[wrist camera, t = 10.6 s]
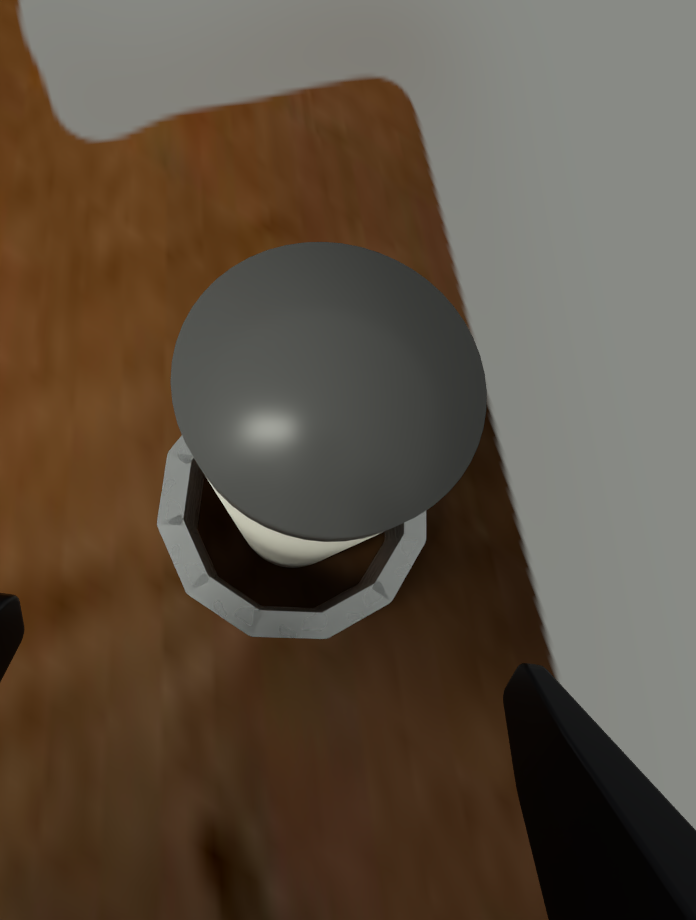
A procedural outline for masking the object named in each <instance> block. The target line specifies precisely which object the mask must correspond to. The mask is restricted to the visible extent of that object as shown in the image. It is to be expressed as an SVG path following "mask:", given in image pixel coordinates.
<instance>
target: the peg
mask: <svg viewBox="0 0 696 920" xmlns="http://www.w3.org/2000/svg"><path fill="white" fill-rule="evenodd" d="M171 391H172V402H173V407H174V411H175V415H176V419H177V423H178V426H179V428H180V431H181V433H182V436H183V438H184V441H185V443H186V445H187V447H188V448H189V450H190V452H191V454H192V455H193V457H194V459H195V461H196V462H197V464H198V465H199V467H200V469H201V470H202V472H203V473H204V475H205V477H206V478H207V480H208V481H209V483H210V484H211V486H212V488H213V489H214V491H215V492H216V494H217V495H218V497H219V499H220V500H221V502H222V503H223V505H224V506H225V508H226V510H227V511H228V513H229V514H230V516H231V518H232V519H233V521H234V522H235V524H236V525H237V527H238V529H239V530H240V532H241V533H242V535H243V536H244V538H245V540H246V541H247V543H248V544H249V546H250V547H251V548H252V549H253V551H254V552H255V553H257V554H258V555H259V556H260V557H261V558H263V559H264V560H266V561H268V562H270V563H272V564H275V565H277V566H281V567H288V568H300V567H305V566H309V565H312V564H315V563H317V562H319V561H321V560H323V559H326V558H328V557H330V556H332V555H334V554H337V553H339V552H341V551H343V550H345V549H347V548H350V547H352V546H354V545H356V544H358V543H361V542H363V541H365V540H367V539H369V538H372V537H374V536H376V535H378V534H380V533H383V532H385V531H387V530H389V529H391V528H393V527H396V526H398V525H400V524H402V523H404V522H407V521H409V520H411V519H413V518H415V517H417V516H418V515H420V514H421V513H423V512H424V511H426V510H428V509H429V508H431V507H432V506H433V505H435V504H436V503H437V502H438V501H439V500H440V499H441V498H443V497H444V496H445V495H446V494H447V493H448V492H449V491H450V490H451V489H452V487H453V486H454V485H455V484H456V483H457V482H458V480H459V479H460V478H461V476H462V475H463V473H464V472H465V470H466V469H467V467H468V466H469V464H470V462H471V460H472V458H473V456H474V454H475V452H476V449H477V447H478V445H479V441H480V438H481V435H482V431H483V428H484V421H485V415H486V392H487V391H486V383H485V374H484V370H483V366H482V362H481V358H480V354H479V352H478V349H477V347H476V344H475V342H474V339H473V337H472V335H471V333H470V331H469V329H468V328H467V326H466V324H465V322H464V321H463V319H462V318H461V316H460V315H459V313H458V312H457V311H456V309H455V308H454V306H453V305H452V304H451V303H450V302H449V301H448V300H447V298H446V297H445V296H444V295H443V294H442V293H441V292H440V291H439V290H438V289H437V288H436V287H434V286H433V285H432V284H431V283H430V282H429V281H428V280H426V279H425V278H424V277H422V276H421V275H419V274H418V273H417V272H415V271H414V270H413V269H411V268H409V267H407V266H405V265H404V264H402V263H400V262H398V261H397V260H395V259H392V258H390V257H388V256H385V255H383V254H381V253H378V252H375V251H372V250H368V249H365V248H362V247H357V246H352V245H347V244H342V243H329V242H309V243H298V244H292V245H285V246H281V247H278V248H274V249H270V250H267V251H264V252H262V253H259V254H257V255H255V256H252V257H250V258H248V259H246V260H244V261H242V262H241V263H239V264H237V265H235V266H234V267H232V268H231V269H229V270H228V271H227V272H225V273H224V274H223V275H221V276H220V277H219V278H217V279H216V280H215V281H214V282H213V283H212V284H211V285H210V286H209V287H208V288H207V289H206V290H205V291H204V293H203V294H202V295H201V296H200V298H199V299H198V300H197V302H196V303H195V304H194V306H193V307H192V309H191V311H190V312H189V314H188V316H187V318H186V320H185V321H184V323H183V325H182V328H181V331H180V333H179V336H178V339H177V341H176V345H175V350H174V355H173V359H172V370H171Z"/></svg>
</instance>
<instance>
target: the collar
mask: <svg viewBox="0 0 696 920" xmlns="http://www.w3.org/2000/svg"><path fill="white" fill-rule="evenodd" d="M204 479H205V475H204V473H203V472H202V470H201V469H200V467H199V465H198V464H197V462H196V461H195V459H194V457H193V455H192V454H191V452H190V450H189V448H188V447H187V445H186V443H185V441H184V438H183V436H181V437H180V438H179V440H178V441H177V442H176V443H175V444H174V446H173V447H172V448H171V449H170V450H169V452H168V455H167V461H166V467H165V474H164V480H163V487H162V493H161V500H160V506H159V513H158V519H157V524H158V525H157V526H158V529H159V531H160V533H161V535H162V538H163V540H164V542H165V545H166V547H167V549H168V552H169V554H170V556H171V559H172V561H173V563H174V566H175V568H176V570H177V573H178V575H179V577H180V579H181V582H182V584H183V586H184V589H185V591H186V593H187V594H188V595H189V596H191V597H192V598H194V599H195V600H197V601H198V602H200V603H201V604H203V605H204V606H206V607H207V608H209V609H210V610H212V611H213V612H215V613H216V614H218V615H219V616H221V617H222V618H224V619H225V620H227V621H228V622H230V623H231V624H233V625H234V626H235V627H237V628H238V629H240V630H241V631H243V632H244V633H246V634H247V635H249V636H250V635H251V637H281V638H313V639H326V638H327V639H328V638H330V637H331V636H333V635H335V634H337V633H338V632H340V631H342V630H344V629H345V628H347V627H349V626H351V625H352V624H354V623H356V622H358V621H359V620H361V619H363V618H365V617H366V616H368V615H370V614H372V613H373V612H375V611H377V610H379V609H380V608H382V607H384V606H386V605H387V604H389V603H391V602H392V600H393V598H394V597H395V595H396V593H397V591H398V590H399V588H400V586H401V584H402V583H403V581H404V579H405V577H406V576H407V574H408V572H409V570H410V569H411V567H412V565H413V563H414V562H415V560H416V558H417V556H418V555H419V553H420V551H421V549H422V548H423V546H424V544H425V542H426V511H424V512H423V513H421V514H420V515H418V516H417V517H415V518H413V519H411V520H409V521H407V522H404V523H402V524H400V525H398V526H396V527H393V528H391V529H389V530H387V531H385V541H384V543H383V544H382V546H381V548H380V549H379V551H378V553H377V554H376V556H375V558H374V559H373V561H372V563H371V564H370V566H369V568H368V569H367V571H366V573H365V574H364V576H363V578H362V579H361V581H360V583H359V584H357V585H355V586H353V587H352V588H350V589H348V590H346V591H344V592H342V593H341V594H339V595H337V596H335V597H333V598H331V599H330V600H328V601H326V602H324V603H322V604H320V605H319V606H317V607H315V608H302V607H276V606H261V605H260V604H258V603H257V602H255V601H254V600H252V599H251V598H249V597H248V596H246V595H245V594H243V593H242V592H240V591H239V590H237V589H236V588H234V587H233V586H231V585H230V584H229V583H227V582H226V581H224V580H223V579H221V578H220V577H218V575H217V572H216V570H215V568H214V566H213V563H212V561H211V559H210V557H209V555H208V552H207V550H206V548H205V546H204V543H203V541H202V539H201V537H200V534H199V532H198V530H197V528H198V521H199V513H200V506H201V498H202V490H203V483H204Z"/></svg>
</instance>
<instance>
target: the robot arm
mask: <svg viewBox="0 0 696 920" xmlns="http://www.w3.org/2000/svg"><path fill="white" fill-rule="evenodd" d="M23 635H24V623H23V617H22V612H21V606H20V601H19V598H18V597H17V596H16V595H12V594H5V593H0V681H1V680H2V678H3V676H4V674H5V672H6V670H7V668H8V666H9V664H10V662H11V660H12V658H13V657H14V655H15V653H16V651H17V649H18V647H19V645H20V643H21V641H22V638H23ZM503 703H504V710H505V716H506V723H507V730H508V736H509V743H510V750H511V756H512V763H513V770H514V776H515V782H516V787H517V792H518V797H519V801H520V805H521V809H522V813H523V818H524V822H525V826H526V830H527V834H528V838H529V842H530V846H531V850H532V854H533V858H534V862H535V866H536V870H537V874H538V878H539V882H540V886H541V891H542V895H543V899H544V903H545V907H546V911H547V915H548V919H549V920H696V830H695V829H694V828H693V827H692V826H691V825H690V824H689V823H688V822H687V820H686V819H685V818H684V817H683V816H682V815H681V814H680V813H679V812H678V811H677V810H676V809H675V807H673V806H672V804H671V803H670V802H669V801H668V800H667V799H666V798H665V797H664V796H663V795H662V793H661V792H660V791H659V790H658V789H657V788H656V787H655V786H654V785H653V784H652V783H651V782H650V781H649V779H648V778H647V777H646V776H645V775H644V774H643V773H642V772H641V771H640V770H639V769H638V768H637V767H636V765H635V764H634V763H633V762H632V761H631V760H630V759H629V758H628V757H627V756H626V755H625V754H624V752H622V750H621V749H620V748H619V747H618V746H617V745H616V744H615V743H614V742H613V741H612V740H611V738H610V737H608V735H607V734H606V733H605V732H604V731H603V730H602V729H601V728H600V727H599V726H598V724H597V723H596V722H595V721H594V720H593V719H592V718H591V717H590V716H589V715H588V714H587V713H586V711H585V710H584V709H583V708H582V707H581V706H580V705H579V704H578V703H577V702H576V701H575V700H574V699H573V697H572V696H571V695H570V694H569V693H568V692H567V691H566V690H565V689H564V688H563V687H562V686H561V684H560V683H559V682H558V681H557V680H556V679H555V678H554V677H553V676H552V675H551V674H550V673H549V672H548V670H546V669H545V668H544V667H543V666H540V665H535V664H527V663H522V664H520V665H519V666H518V667H517V669H516V671H515V672H514V674H513V676H512V677H511V679H510V681H509V682H508V684H507V686H506V688H505V690H504V695H503Z"/></svg>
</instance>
